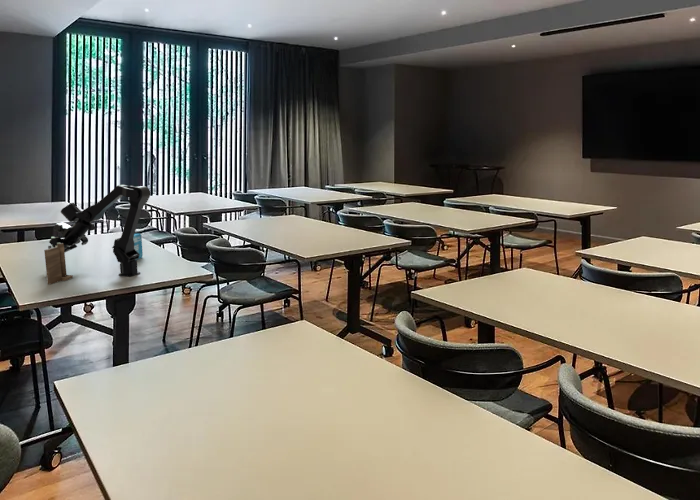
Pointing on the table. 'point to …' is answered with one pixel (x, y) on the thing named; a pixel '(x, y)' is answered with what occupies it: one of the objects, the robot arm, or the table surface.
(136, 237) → the data package
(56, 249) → the brown piece
